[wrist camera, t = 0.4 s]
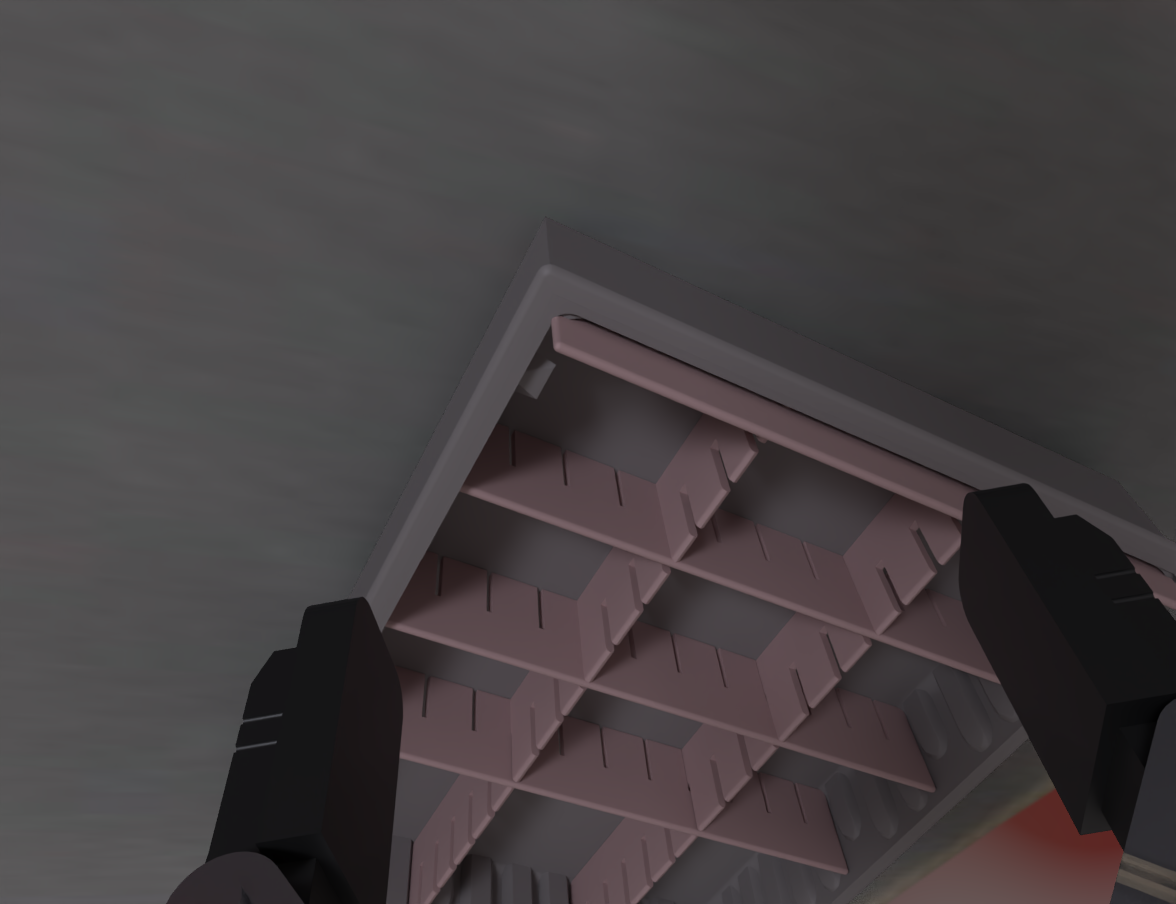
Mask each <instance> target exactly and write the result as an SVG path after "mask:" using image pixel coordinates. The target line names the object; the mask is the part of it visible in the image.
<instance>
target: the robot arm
mask: <svg viewBox="0 0 1176 904" xmlns="http://www.w3.org/2000/svg"><path fill="white" fill-rule="evenodd" d="M958 580H959V591H960V597H961V601H962V605H963V609H964V612H965V615H966V617H967V620H968V622H969V624H970V626H971V628H972V630H973V632H974V634H975V636H976V638H977V640H978V641H979V643H980V645H981V647H982V649H983V651H984V653H985V655H986V657H987V659H988V661H989V662H990V664H991V666H992V668H993V670H994V672H995V674H996V676H997V678H998V680H999V681H1000V683H1001V685H1002V687H1003V689H1004V691H1005V693H1006V695H1007V697H1008V699H1009V700H1010V702H1011V704H1012V706H1013V708H1014V710H1015V712H1016V714H1017V716H1018V718H1019V720H1020V721H1021V723H1022V725H1023V727H1024V729H1025V731H1026V733H1027V735H1028V737H1029V739H1030V740H1031V742H1032V744H1033V746H1034V748H1035V750H1036V752H1037V754H1038V756H1039V758H1040V760H1041V761H1042V763H1043V765H1044V767H1045V769H1046V771H1047V773H1048V775H1049V777H1050V779H1051V780H1052V782H1053V784H1054V786H1055V788H1056V790H1057V792H1058V794H1059V796H1060V798H1061V800H1062V801H1063V803H1064V805H1065V807H1066V809H1067V811H1068V813H1069V815H1070V817H1071V819H1072V820H1073V822H1074V824H1075V826H1076V828H1077V830H1078V832H1079V834H1080V835H1084V834H1090V833H1096V832H1103V831H1108V830H1112V831H1113V833H1114V835H1115V836H1116V838H1117V840H1118V842H1119V844H1120V845H1121V847H1122V849H1123V851H1124V853H1123V856H1122V860H1121V863H1120V867H1119V871H1118V875H1117V878H1116V882H1115V886H1114V890H1113V894H1112V898H1111V901H1110V904H1176V621H1175V620H1174V618H1173V617H1172V616H1171V614H1170V613H1169V612H1168V611H1167V609H1166V608H1165V607H1164V605H1163V604H1162V603H1161V601H1160V600H1159V599H1158V598H1155V597H1154V595H1153V591H1152V589H1151V588H1150V587H1149V585H1148V584H1147V583H1146V581H1145V580H1144V579H1143V577H1142V576H1141V575H1140V573H1139V574H1137V573H1136V572H1135V567H1134V566H1133V564H1132V563H1131V562H1130V560H1129V559H1128V558H1127V556H1126V555H1125V554H1124V552H1123V551H1122V550H1121V548H1120V547H1119V546H1118V544H1117V543H1116V542H1115V540H1114V539H1113V538H1112V537H1111V536H1109V535H1108V534H1106V533H1105V532H1103V531H1101V530H1100V529H1098V528H1097V527H1095V526H1094V525H1092V524H1091V523H1089V522H1088V521H1086V520H1085V519H1083V518H1081V517H1080V516H1078V515H1077V514H1075V515H1069V516H1064V517H1058V518H1054V517H1053V515H1052V514H1051V513H1050V511H1049V510H1048V508H1047V507H1046V506H1045V504H1044V503H1043V501H1042V500H1041V498H1040V497H1039V496H1038V494H1037V493H1036V491H1035V490H1034V489H1033V488H1032V487H1031V486H1030V485H1029V484H1027V483H1021V484H1015V485H1009V486H1003V487H998V488H992V489H986V490H981V491H975V492H969V493H967V494H966V496H965V498H964V502H963V514H962V529H961V544H960V560H959V576H958ZM402 725H403V699H402V691H401V686H400V681H399V677H398V674H397V671H396V668H395V666H394V663H393V661H392V658H391V656H390V653H389V651H388V649H387V646H386V644H385V641H384V639H383V636H382V634H381V631H380V629H379V626H378V624H377V621H376V619H375V616H374V614H373V612H372V609H371V607H370V605H369V603H368V601H367V600H366V599H365V598H364V597H358V598H352V599H346V600H341V601H335V602H329V603H323V604H318V605H312V606H309V607H307V609H306V610H305V612H304V616H303V620H302V625H301V629H300V634H299V639H298V644H297V648H291V649H285V650H279V651H274V652H273V654H272V655H271V656H270V658H269V659H268V661H267V662H266V664H265V665H264V666H263V668H262V669H261V671H260V672H259V674H258V675H257V676H256V678H255V679H254V681H253V682H252V684H251V687H250V691H249V695H248V699H247V703H246V706H245V710H244V714H243V724H242V725H241V726H240V730H239V734H238V738H237V742H236V749H237V751H236V752H235V753H234V754H233V758H232V762H231V766H230V770H229V774H228V778H227V782H226V786H225V790H224V794H223V798H222V802H221V806H220V810H219V814H218V818H217V822H216V826H215V830H214V834H213V838H212V842H211V846H210V850H209V853H208V856H207V859H206V862H205V864H203V865H202V866H200V867H199V868H197V869H196V870H195V871H193V872H192V873H191V874H190V875H189V876H187V877H186V878H185V879H184V880H183V881H182V882H181V884H180V885H179V886H178V887H177V888H176V889H175V891H174V892H173V893H172V895H171V896H170V898H169V900H168V901H167V903H166V904H386V900H387V889H388V878H389V867H390V856H391V845H392V834H393V823H394V812H395V801H396V790H397V779H398V769H399V758H400V747H401V736H402Z"/></svg>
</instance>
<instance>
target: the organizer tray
mask: <svg viewBox="0 0 1176 904" xmlns="http://www.w3.org/2000/svg"><path fill="white" fill-rule="evenodd" d="M1021 483H1027V484H1029V485H1030V486H1031V487H1032V488H1033V489H1034V490H1035V491H1036V493H1037V494H1038V496H1039V497H1040V498H1041V500H1042V501H1043V503H1044V504H1045V506H1046V507H1047V508H1048V510H1049V511H1050V513H1051V514H1052V515H1053V517H1054V518H1058V517H1064V516H1069V515H1075V514H1077V515H1078V516H1080V517H1081V518H1083V519H1085V520H1086V521H1088V522H1089V523H1091V524H1092V525H1094V526H1095V527H1097V528H1098V529H1100V530H1101V531H1103V532H1105V533H1106V534H1108V535H1109V536H1111V537H1112V538H1113V539H1114V540H1115V542H1116V543H1117V544H1118V546H1119V547H1120V548H1121V550H1122V551H1123V552H1124V554H1125V555H1126V556H1127V558H1128V559H1129V560H1130V562H1131V563H1132V564H1133V566H1134V567H1135V572H1136V573H1137V574H1139V573H1140V575H1141V576H1142V577H1143V579H1144V580H1145V581H1146V583H1147V584H1148V585H1149V587H1150V588H1151V589H1152V591H1153V595H1154V597H1155V598H1158V599H1159V600H1160V601H1161V603H1162V604H1163V605H1164V607H1165V608H1166V609H1167V611H1168V610H1169V609H1170V608H1172V609H1174V610H1176V542H1173V541H1171V540H1169V539H1167V538H1165V537H1164V536H1163V534H1162V533H1161V532H1160V531H1159V530H1158V528H1157V527H1156V526H1155V525H1154V524H1153V522H1152V521H1151V520H1150V519H1149V518H1148V516H1147V515H1146V514H1145V513H1144V512H1143V510H1142V509H1141V508H1140V507H1139V506H1138V504H1137V503H1136V502H1135V501H1134V500H1133V498H1132V497H1131V496H1130V495H1129V494H1128V492H1127V491H1126V490H1125V489H1124V488H1123V486H1122V485H1121V484H1120V483H1119V482H1118V481H1116V480H1114V479H1112V478H1109V477H1107V476H1105V475H1103V474H1101V473H1099V472H1096V471H1094V470H1092V469H1090V468H1088V467H1086V466H1083V465H1081V464H1079V463H1077V462H1075V461H1073V460H1070V459H1068V458H1066V457H1064V456H1062V455H1060V454H1057V453H1055V452H1053V451H1051V450H1049V449H1047V448H1045V447H1042V446H1040V445H1038V444H1036V443H1034V442H1032V441H1029V440H1027V439H1025V438H1023V437H1021V436H1019V435H1016V434H1014V433H1012V432H1010V431H1008V430H1006V429H1003V428H1001V427H999V426H997V425H995V424H993V423H990V422H988V421H986V420H984V419H982V418H980V417H977V416H975V415H973V414H971V413H969V412H967V411H964V410H962V409H960V408H958V407H956V406H954V405H952V404H949V403H947V402H945V401H943V400H941V399H939V398H936V397H934V396H932V395H930V394H928V393H926V392H923V391H921V390H919V389H917V388H915V387H913V386H910V385H908V384H906V383H904V382H902V381H900V380H897V379H895V378H893V377H891V376H889V375H887V374H884V373H882V372H880V371H878V370H876V369H874V368H872V367H869V366H867V365H865V364H863V363H861V362H859V361H856V360H854V359H852V358H850V357H848V356H846V355H843V354H841V353H839V352H837V351H835V350H833V349H830V348H828V347H826V346H824V345H822V344H820V343H817V342H815V341H813V340H811V339H809V338H807V337H804V336H802V335H800V334H798V333H796V332H794V331H791V330H789V329H787V328H785V327H783V326H781V325H779V324H776V323H774V322H772V321H770V320H768V319H766V318H763V317H761V316H759V315H757V314H755V313H753V312H750V311H748V310H746V309H744V308H742V307H740V306H737V305H735V304H733V303H731V302H729V301H727V300H724V299H722V298H720V297H718V296H716V295H714V294H711V293H709V292H707V291H705V290H703V289H701V288H699V287H696V286H694V285H692V284H690V283H688V282H686V281H683V280H681V279H679V278H677V277H675V276H673V275H670V274H668V273H666V272H664V271H662V270H660V269H657V268H655V267H653V266H651V265H649V264H647V263H644V262H642V261H640V260H638V259H636V258H634V257H631V256H629V255H627V254H625V253H623V252H621V251H618V250H616V249H614V248H612V247H610V246H608V245H606V244H603V243H601V242H599V241H597V240H595V239H593V238H590V237H588V236H586V235H584V234H582V233H580V232H577V231H575V230H573V229H571V228H569V227H567V226H564V225H562V224H560V223H558V222H556V221H554V220H551V219H549V218H547V217H545V218H544V220H543V222H542V224H541V226H540V228H539V230H538V231H537V233H536V235H535V237H534V239H533V241H532V243H531V245H530V247H529V249H528V251H527V253H526V255H525V257H524V259H523V261H522V262H521V264H520V266H519V268H518V270H517V272H516V274H515V276H514V278H513V280H512V282H511V284H510V286H509V288H508V290H507V292H506V294H505V295H504V297H503V299H502V301H501V303H500V305H499V307H498V309H497V311H496V313H495V315H494V317H493V319H492V321H491V323H490V325H489V327H488V328H487V330H486V332H485V334H484V336H483V338H482V340H481V342H480V344H479V346H478V348H477V350H476V352H475V354H474V356H473V358H472V360H471V361H470V363H469V365H468V367H467V369H466V371H465V373H464V375H463V377H462V379H461V381H460V383H459V385H458V387H457V389H456V391H455V392H454V394H453V396H452V398H451V400H450V402H449V404H448V406H447V408H446V410H445V412H444V414H443V416H442V418H441V420H440V422H439V424H438V425H437V427H436V429H435V431H434V433H433V435H432V437H431V439H430V441H429V443H428V445H427V447H426V449H425V451H424V453H423V455H422V457H421V458H420V460H419V462H418V464H417V466H416V468H415V470H414V472H413V474H412V476H411V478H410V480H409V482H408V484H407V486H406V488H405V490H404V491H403V493H402V495H401V497H400V499H399V501H398V503H397V505H396V507H395V509H394V511H393V513H392V515H391V517H390V519H389V521H388V522H387V524H386V526H385V528H384V530H383V532H382V534H381V536H380V538H379V540H378V542H377V544H376V546H375V548H374V550H373V552H372V554H371V555H370V557H369V559H368V561H367V563H366V565H365V567H364V569H363V571H362V573H361V575H360V577H359V579H358V581H357V583H356V585H355V587H354V588H353V590H352V592H351V594H350V596H349V598H348V599H352V598H358V597H364V598H365V599H366V600H367V601H368V603H369V605H370V607H371V609H372V612H373V614H374V616H375V619H376V621H377V624H378V626H379V629H380V631H381V634H382V636H383V639H384V641H385V644H386V646H387V649H388V651H389V653H390V656H391V658H392V661H393V663H394V666H395V668H396V671H397V674H398V677H399V681H400V686H401V691H402V699H403V725H402V736H401V747H400V758H399V769H398V779H397V790H396V801H395V812H394V823H393V834H392V845H391V856H390V867H389V878H388V889H387V900H386V904H848V903H849V902H850V901H851V900H853V899H854V898H855V897H856V896H857V895H858V894H859V893H860V892H861V891H862V890H864V889H865V888H866V887H867V886H868V885H869V884H870V883H871V882H872V881H873V880H874V879H876V878H877V877H878V876H879V875H880V874H881V873H882V872H883V871H884V870H885V869H886V868H888V867H889V866H890V865H891V864H892V863H893V862H894V861H895V860H896V859H897V858H898V857H900V856H901V855H902V854H903V853H904V852H905V851H906V850H907V849H908V848H909V847H910V846H912V845H913V844H914V843H915V842H916V841H917V840H918V839H919V838H920V837H921V836H922V835H924V834H925V833H926V832H927V831H928V830H929V829H930V828H931V827H932V826H933V825H934V824H936V823H937V822H938V821H939V820H940V819H941V818H942V817H943V816H944V815H945V814H947V813H948V812H949V811H950V810H951V809H952V808H953V807H954V806H955V805H956V804H957V803H959V802H960V801H961V800H962V799H963V798H964V797H965V796H966V795H967V794H968V793H969V792H971V791H972V790H973V789H974V788H975V787H976V786H977V785H978V784H979V783H980V782H981V781H983V780H984V779H985V778H986V777H987V776H988V775H989V774H990V773H991V772H992V771H993V770H995V769H996V768H997V767H998V766H999V765H1000V764H1001V763H1002V762H1003V761H1004V760H1005V759H1007V758H1008V757H1009V756H1010V755H1011V754H1012V753H1013V752H1014V751H1015V750H1016V749H1017V748H1019V747H1020V746H1021V745H1022V744H1023V743H1024V742H1025V741H1026V740H1027V739H1028V738H1029V737H1028V735H1027V733H1026V731H1025V729H1024V727H1023V725H1022V723H1021V721H1020V720H1019V718H1018V716H1017V714H1016V712H1015V710H1014V708H1013V706H1012V704H1011V702H1010V700H1009V699H1008V697H1007V695H1006V693H1005V691H1004V689H1003V687H1002V685H1001V683H1000V681H999V680H998V678H997V676H996V674H995V672H994V670H993V668H992V666H991V664H990V662H989V661H988V659H987V657H986V655H985V653H984V651H983V649H982V647H981V645H980V643H979V641H978V640H977V638H976V636H975V634H974V632H973V630H972V628H971V626H970V624H969V622H968V620H967V617H966V615H965V612H964V609H963V605H962V601H961V597H960V591H959V580H958V576H959V560H960V544H961V529H962V514H963V502H964V498H965V496H966V494H967V493H969V492H975V491H981V490H986V489H992V488H998V487H1003V486H1009V485H1015V484H1021Z"/></svg>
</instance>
